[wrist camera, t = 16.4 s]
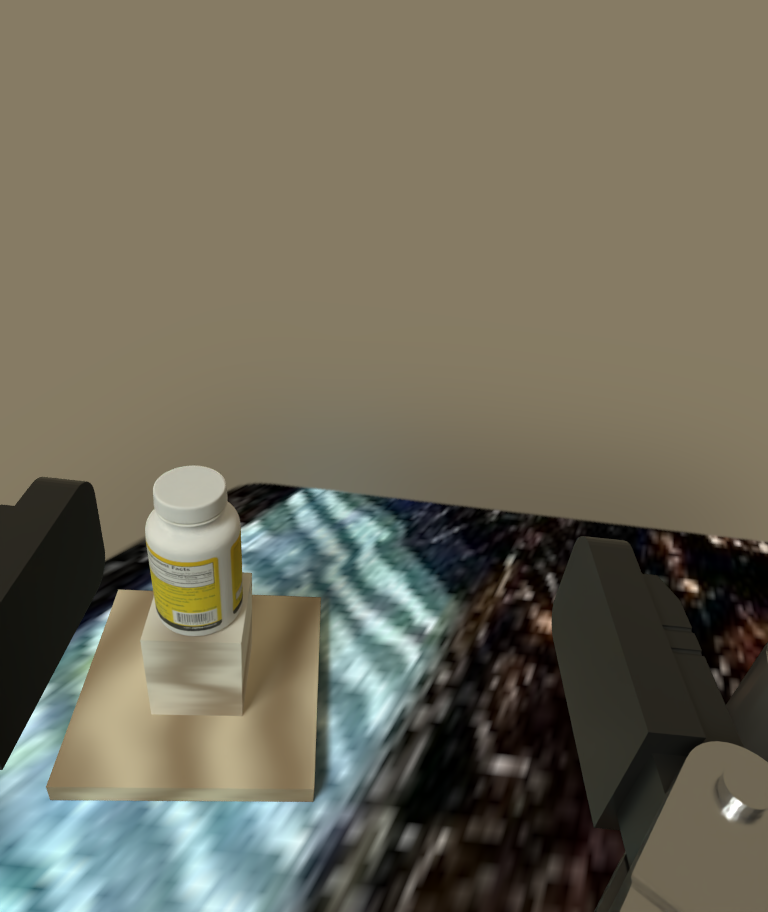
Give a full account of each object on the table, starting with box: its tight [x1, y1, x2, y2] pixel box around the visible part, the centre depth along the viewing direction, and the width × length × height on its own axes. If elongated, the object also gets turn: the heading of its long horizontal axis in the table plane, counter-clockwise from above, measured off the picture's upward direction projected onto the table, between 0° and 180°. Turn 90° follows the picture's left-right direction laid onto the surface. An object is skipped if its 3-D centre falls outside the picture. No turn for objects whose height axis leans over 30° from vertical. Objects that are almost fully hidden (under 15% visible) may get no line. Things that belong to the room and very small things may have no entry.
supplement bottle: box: [145, 466, 243, 636], centre depth 41 cm, size 5×5×10 cm
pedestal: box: [46, 573, 321, 802], centre depth 46 cm, size 16×16×9 cm
